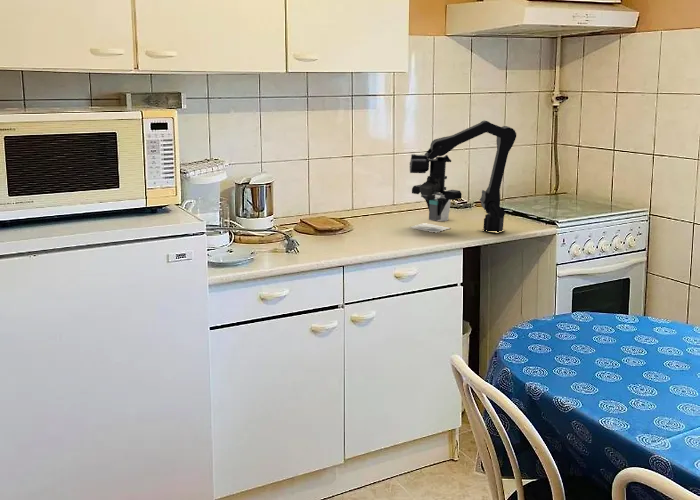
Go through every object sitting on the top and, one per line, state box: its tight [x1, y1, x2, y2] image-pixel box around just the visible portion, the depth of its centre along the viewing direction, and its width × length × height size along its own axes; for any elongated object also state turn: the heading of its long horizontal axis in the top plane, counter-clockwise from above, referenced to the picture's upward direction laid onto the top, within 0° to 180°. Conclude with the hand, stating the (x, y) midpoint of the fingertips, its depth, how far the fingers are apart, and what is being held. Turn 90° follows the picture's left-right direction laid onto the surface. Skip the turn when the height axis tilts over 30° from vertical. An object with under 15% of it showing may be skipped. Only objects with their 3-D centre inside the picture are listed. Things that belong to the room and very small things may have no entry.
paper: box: [409, 222, 451, 234], centre depth 293 cm, size 12×10×1 cm
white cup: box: [434, 194, 452, 222], centre depth 307 cm, size 8×8×10 cm
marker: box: [428, 199, 441, 222], centre depth 287 cm, size 3×3×7 cm
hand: (435, 214), depth 288 cm, fingers closed on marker, 3 cm apart
